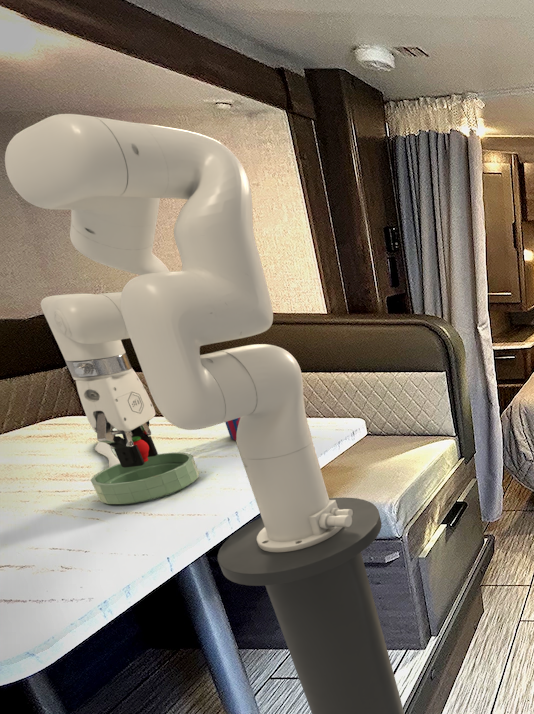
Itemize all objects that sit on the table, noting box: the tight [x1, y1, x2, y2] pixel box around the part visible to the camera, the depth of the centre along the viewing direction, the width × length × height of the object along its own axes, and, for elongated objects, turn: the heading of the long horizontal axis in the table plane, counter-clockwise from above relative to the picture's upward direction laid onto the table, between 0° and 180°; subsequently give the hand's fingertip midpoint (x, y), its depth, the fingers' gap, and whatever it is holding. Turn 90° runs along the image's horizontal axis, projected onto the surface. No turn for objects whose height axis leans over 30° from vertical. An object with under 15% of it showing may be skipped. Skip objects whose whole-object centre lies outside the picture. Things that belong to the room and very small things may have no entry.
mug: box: [224, 417, 241, 441], centre depth 120 cm, size 7×10×7 cm
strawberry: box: [132, 436, 149, 462], centre depth 94 cm, size 4×4×5 cm
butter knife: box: [94, 441, 120, 468], centre depth 112 cm, size 1×27×3 cm
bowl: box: [90, 452, 200, 505], centre depth 96 cm, size 14×14×4 cm
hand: (140, 460), depth 95 cm, fingers closed on strawberry, 3 cm apart
